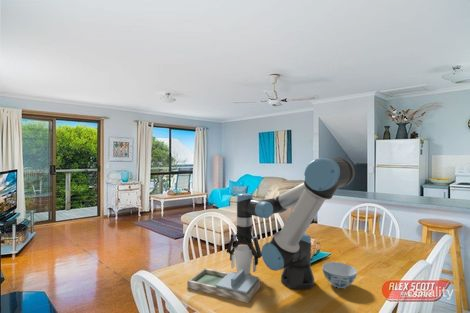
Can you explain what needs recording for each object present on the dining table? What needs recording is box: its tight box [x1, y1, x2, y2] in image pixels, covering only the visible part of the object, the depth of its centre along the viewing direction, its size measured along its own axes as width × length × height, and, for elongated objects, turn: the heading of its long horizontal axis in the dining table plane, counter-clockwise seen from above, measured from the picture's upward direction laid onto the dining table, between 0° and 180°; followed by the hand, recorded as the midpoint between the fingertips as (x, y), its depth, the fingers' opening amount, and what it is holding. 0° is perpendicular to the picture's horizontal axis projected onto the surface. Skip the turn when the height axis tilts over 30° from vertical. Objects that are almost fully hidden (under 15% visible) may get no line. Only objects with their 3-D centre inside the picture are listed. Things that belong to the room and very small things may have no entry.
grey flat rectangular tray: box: [186, 268, 261, 304], centre depth 122 cm, size 29×15×3 cm, turn 66°
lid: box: [216, 269, 260, 294], centre depth 119 cm, size 14×15×4 cm
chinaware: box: [321, 261, 358, 289], centre depth 125 cm, size 15×15×8 cm
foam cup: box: [234, 245, 254, 275], centre depth 135 cm, size 10×9×13 cm
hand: (243, 269), depth 135 cm, fingers open, 11 cm apart
